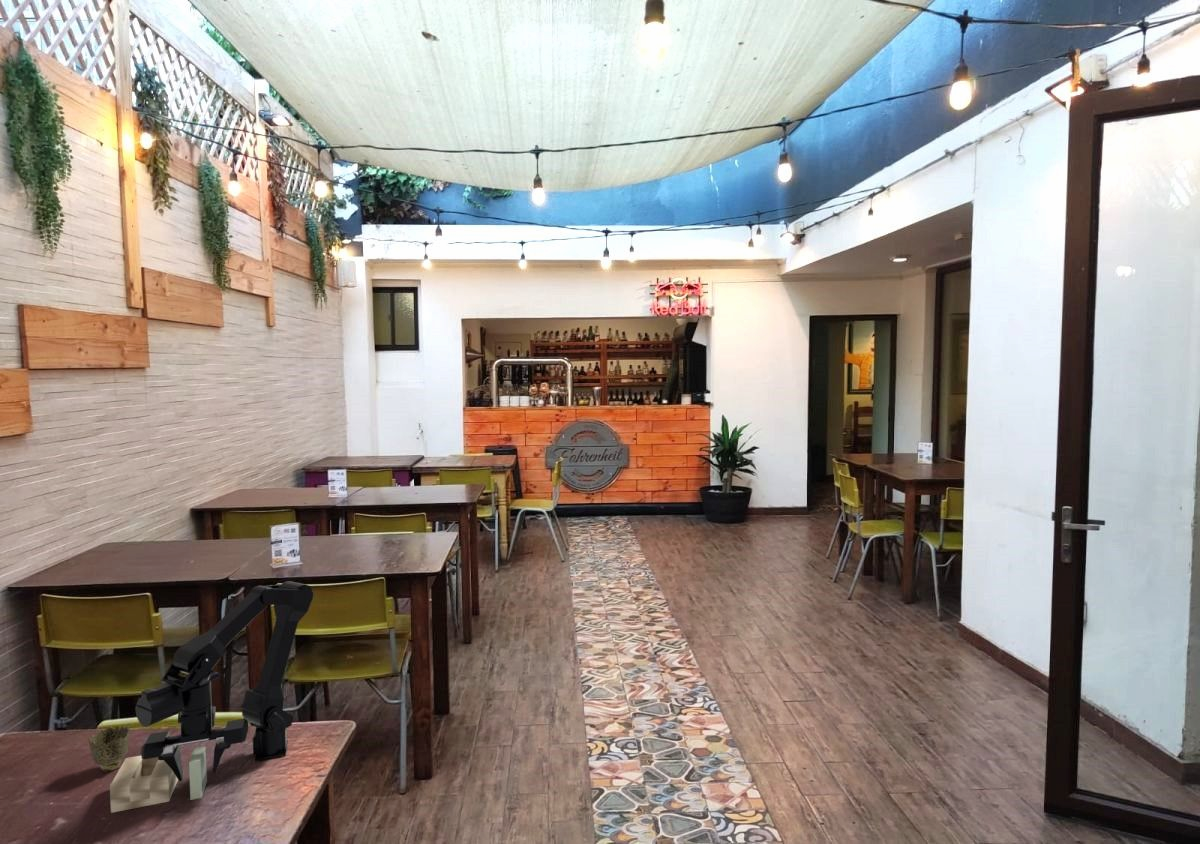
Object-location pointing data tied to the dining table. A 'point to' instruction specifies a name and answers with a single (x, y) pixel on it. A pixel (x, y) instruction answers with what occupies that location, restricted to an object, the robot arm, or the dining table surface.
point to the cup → (109, 747)
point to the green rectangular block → (197, 772)
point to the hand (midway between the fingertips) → (198, 777)
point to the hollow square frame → (141, 784)
